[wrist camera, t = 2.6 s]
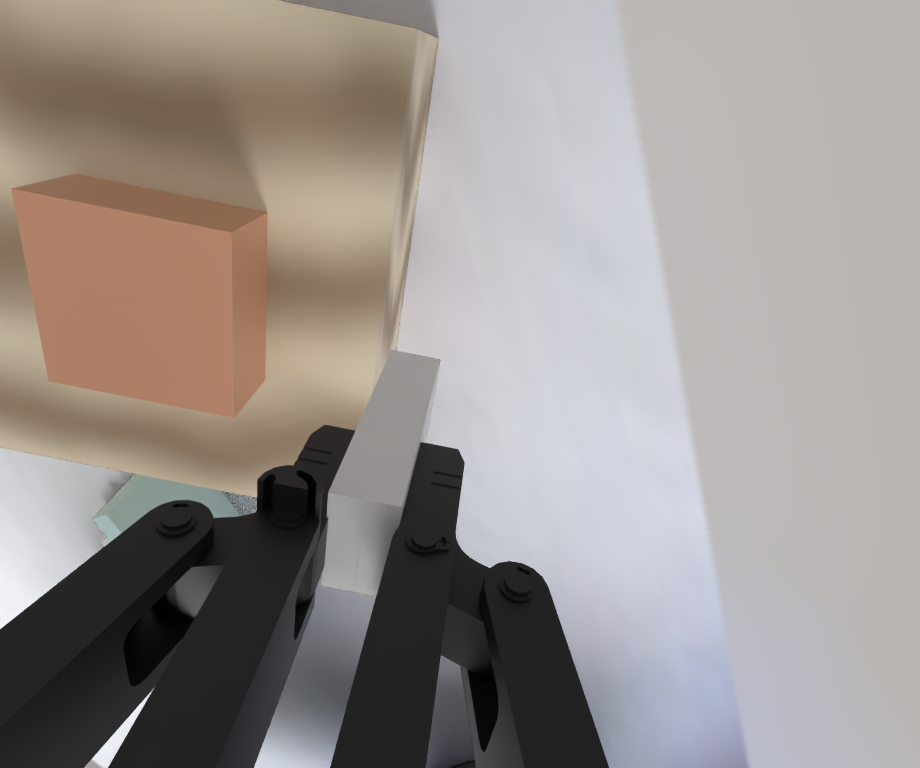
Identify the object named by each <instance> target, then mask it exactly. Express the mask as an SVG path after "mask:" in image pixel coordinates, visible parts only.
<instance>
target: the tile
mask: <svg viewBox="0 0 920 768" xmlns="http://www.w3.org/2000/svg"><path fill="white" fill-rule="evenodd" d="M11 191H12V196H13V201H14V206H15V211H16V217H17V222H18V227H19V232H20V237H21V242H22V247H23V252H24V258H25V263H26V268H27V273H28V278H29V283H30V288H31V293H32V298H33V304H34V309H35V314H36V319H37V324H38V329H39V334H40V339H41V345H42V350H43V355H44V360H45V365H46V370H47V375H48V380H49V382H54V383H59V384H64V385H69V386H75V387H80V388H85V389H90V390H95V391H100V392H105V393H110V394H115V395H120V396H125V397H130V398H136V399H141V400H146V401H151V402H156V403H161V404H166V405H171V406H176V407H181V408H186V409H191V410H197V411H202V412H207V413H212V414H217V415H222V416H227V417H232V418H235V417H236V415H237V414H238V413H239V412H240V411H241V409H242V408H243V407H244V406H245V404H246V403H247V402H248V401H249V400H250V398H251V397H252V396H253V395H254V393H255V392H256V391H257V390H258V389H259V387H260V386H261V385H262V384H263V382H264V381H265V361H266V290H267V219H268V212H264V211H259V210H254V209H249V208H244V207H239V206H234V205H229V204H224V203H219V202H214V201H209V200H204V199H199V198H194V197H189V196H184V195H179V194H174V193H169V192H164V191H159V190H154V189H149V188H144V187H139V186H134V185H129V184H124V183H119V182H114V181H109V180H104V179H99V178H94V177H89V176H84V175H79V174H72V175H68V176H64V177H59V178H55V179H51V180H46V181H42V182H37V183H33V184H29V185H24V186H20V187H16V188H11Z"/></svg>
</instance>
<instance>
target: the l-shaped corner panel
mask: <svg viewBox="0 0 920 768" xmlns="http://www.w3.org/2000/svg"><path fill="white" fill-rule="evenodd" d="M174 500H191V501H196V502H200V503H202V504H204V505H205V506H207V507H208V508H209V509H210V511H211V513H212V514H213V518H221V517H238V516H240V514H239V513H238V512H237V510H236V509H235V508H234V506H233V505H232V503H231V502H230V501H229V499H228V498H227V497H226V495H225V494H224V493H223V491H220V490H215V489H210V488H205V487H199V486H194V485H189V484H184V483H179V482H174V481H169V480H164V479H158V478H153V477H148V476H143V475H138V474H134V475H133V476H132V477H131V478H130V480H129V481H128V482H127V483H126V484H125V485H124V486H123V487H122V488H120V489H119V491H118V492H117V493H116V494H115V495H114V496H113V498H112V499H111V500H110V501H109V502H108V503H107V504H106V505H105V506H104V507H103V508H102V509H101V510H100V511H99V512H98V513H97V514H96V515H95V517H94V518H93V519H92V520H93V521H94V522H95V523H96V524H97V527H98V528H99V529H100V530H101V531H102V532H103V533H104V535H103V536H102V538H103V539H101V541H100V543H101V544H102V545H103V546H104V547H105V546H106V545H107V544H108V543H110V542H111V541H112V540H114V539H115V538H116V537H117V536H119V535H120V534H121V533H122V532H124V531H125V530H126V529H127V528H129V527H130V526H131V525H132V524H134V523H135V522H136V521H137V520H139V519H140V518H141V517H143V516H144V515H145V514H146V513H148V512H149V511H150V510H152V509H154V508H156V507H157V506H159V505H161V504H164V503H167V502H171V501H174ZM154 688H155V687H154ZM154 688H153V689H154ZM153 689H152V691H153ZM152 691H151V692H152Z"/></svg>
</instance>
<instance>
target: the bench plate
mask: <svg viewBox="0 0 920 768" xmlns="http://www.w3.org/2000/svg"><path fill="white" fill-rule="evenodd" d="M438 39H439V38H436V37H434V36H432V35H430V34H427V33H425V32H423V31H421V30H418V29H416V28H412V27H407V26H402V25H397V24H392V23H387V22H382V21H378V20H373V19H368V18H363V17H358V16H353V15H348V14H343V13H338V12H333V11H328V10H323V9H319V8H314V7H309V6H304V5H299V4H294V3H289V2H284V1H279V0H0V448H5V449H10V450H15V451H20V452H25V453H31V454H36V455H41V456H46V457H51V458H56V459H61V460H66V461H71V462H77V463H82V464H87V465H92V466H97V467H102V468H107V469H112V470H118V471H123V472H128V473H133V474H138V475H143V476H148V477H153V478H158V479H164V480H169V481H174V482H179V483H184V484H189V485H194V486H199V487H205V488H210V489H215V490H220V491H225V492H230V493H235V494H240V495H245V496H251V497H256V498H257V479H258V478H259V477H260V476H261V475H262V474H263V473H264V472H266V471H268V470H270V469H272V468H275V467H279V466H285V465H294V463H295V461H296V460H297V459H298V456H299V454H300V453H301V451H302V449H303V448H304V445H305V444H306V442H307V440H308V438H309V436H310V435H311V434H312V433H313V432H315V431H316V430H318V429H319V428H320V427H322V426H323V425H330V426H335V427H340V428H345V429H350V430H355V431H356V429H357V426H358V424H359V422H360V420H361V417H362V415H363V413H364V411H365V408H366V406H367V404H368V402H369V399H370V397H371V395H372V392H373V390H374V388H375V386H376V383H377V381H378V379H379V377H380V374H381V372H382V370H383V368H384V365H385V363H386V361H387V359H388V356H389V354H390V352H391V350H395V351H396V346H397V339H398V332H399V324H400V317H401V310H402V302H403V295H404V288H405V280H406V273H407V266H408V258H409V251H410V244H411V236H412V229H413V222H414V214H415V207H416V200H417V192H418V185H419V178H420V171H421V163H422V156H423V149H424V141H425V134H426V127H427V119H428V112H429V105H430V97H431V90H432V83H433V75H434V68H435V61H436V53H437V46H438ZM72 174H79V175H84V176H89V177H94V178H99V179H104V180H109V181H114V182H119V183H124V184H129V185H134V186H139V187H144V188H149V189H154V190H159V191H164V192H169V193H174V194H179V195H184V196H189V197H194V198H199V199H204V200H209V201H214V202H219V203H224V204H229V205H234V206H239V207H244V208H249V209H254V210H259V211H264V212H268V219H267V290H266V361H265V381H264V382H263V384H262V385H261V386H260V387H259V389H258V390H257V391H256V392H255V393H254V395H253V396H252V397H251V398H250V400H249V401H248V402H247V403H246V404H245V406H244V407H243V408H242V409H241V411H240V412H239V413H238V414H237V415H236V417H235V418H232V417H227V416H222V415H217V414H212V413H207V412H202V411H197V410H191V409H186V408H181V407H176V406H171V405H166V404H161V403H156V402H151V401H146V400H141V399H136V398H130V397H125V396H120V395H115V394H110V393H105V392H100V391H95V390H90V389H85V388H80V387H75V386H69V385H64V384H59V383H54V382H49V380H48V375H47V370H46V365H45V360H44V355H43V350H42V345H41V339H40V334H39V329H38V324H37V319H36V314H35V309H34V304H33V298H32V293H31V288H30V283H29V278H28V273H27V268H26V263H25V258H24V252H23V247H22V242H21V237H20V232H19V227H18V222H17V217H16V211H15V206H14V201H13V196H12V191H11V188H16V187H20V186H24V185H29V184H33V183H37V182H42V181H46V180H51V179H55V178H59V177H64V176H68V175H72Z"/></svg>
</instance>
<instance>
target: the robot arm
mask: <svg viewBox="0 0 920 768" xmlns="http://www.w3.org/2000/svg"><path fill="white" fill-rule="evenodd" d="M439 366H440V359H435V358H430V357H425V356H420V355H415V354H410V353H405V352H400V351H395V350H391V352H390V354H389V356H388V359H387V361H386V363H385V365H384V368H383V370H382V372H381V374H380V377H379V379H378V381H377V383H376V386H375V388H374V390H373V392H372V395H371V397H370V399H369V402H368V404H367V406H366V408H365V411H364V413H363V415H362V417H361V420H360V422H359V424H358V426H357V429H356V431H355V430H350V429H345V428H340V427H335V426H330V425H323V426H322V427H320V428H319V429H318V430H316V431H315V432H313V433H312V434H311V435H310V436H309V438H308V440H307V442H306V444H305V445H304V448H303V449H302V451H301V453H300V454H299V456H298V459H297V460H296V461H295V463H294V465H285V466H279V467H275V468H272V469H270V470H268V471H266V472H264V473H263V474H262V475H261V476H260V477H259V478H258V479H257V511H256V513H252V514H249V515H245V516H238V517H221V518H213V514H212V513H211V511H210V509H209V508H208V507H207V506H205V505H204V504H202V503H200V502H196V501H191V500H174V501H171V502H167V503H164V504H161V505H159V506H157V507H156V508H154V509H152V510H150V511H149V512H148V513H146V514H145V515H144V516H143V517H141V518H140V519H139V520H137V521H136V522H135V523H134V524H132V525H131V526H130V527H129V528H127V529H126V530H125V531H124V532H122V533H121V534H120V535H119V536H117V537H116V538H115V539H114V540H112V541H111V542H110V543H108V544H107V545H106V546H105V547H103V548H102V549H101V550H100V551H98V552H97V553H96V554H95V555H93V556H92V557H91V558H90V559H88V560H87V561H86V562H85V563H83V564H82V565H81V566H79V567H78V568H77V569H76V570H74V571H73V572H72V573H71V574H69V575H68V576H67V577H66V578H64V579H63V580H62V581H61V582H59V583H58V584H57V585H56V586H54V587H53V588H52V589H50V590H49V591H48V592H47V593H45V594H44V595H43V596H42V597H40V598H39V599H38V600H37V601H35V602H34V603H33V604H32V605H30V606H29V607H28V608H27V609H25V610H24V611H23V612H21V613H20V614H19V615H18V616H16V617H15V618H14V619H13V620H11V621H10V622H9V623H8V624H6V625H5V626H4V627H3V628H1V629H0V768H84V767H85V766H86V764H87V763H88V762H89V761H90V760H91V759H92V758H93V757H94V756H95V754H96V753H97V752H98V751H99V750H100V749H101V748H102V746H103V745H104V744H105V743H106V742H107V741H108V740H109V738H110V737H111V736H112V735H113V734H114V733H115V732H116V730H117V729H118V728H119V727H120V726H121V725H122V724H123V722H124V721H125V720H126V719H127V718H128V717H129V716H130V715H131V713H132V712H133V711H134V710H135V709H136V708H137V707H138V705H139V704H140V703H141V702H142V701H143V700H144V699H145V697H146V696H147V695H148V694H149V693H150V692H151V691H152V689H153V688H154V687H155V688H154V689H153V691H152V693H151V695H150V696H149V698H148V700H147V701H146V703H145V705H144V707H143V708H142V710H141V712H140V714H139V715H138V717H137V719H136V720H135V722H134V724H133V726H132V727H131V729H130V731H129V733H128V734H127V736H126V738H125V739H124V741H123V743H122V745H121V746H120V748H119V750H118V752H117V753H116V755H115V757H114V758H113V760H112V762H111V764H110V765H109V767H108V768H254V766H255V763H256V760H257V757H258V755H259V752H260V749H261V747H262V744H263V741H264V739H265V736H266V733H267V731H268V728H269V725H270V723H271V720H272V717H273V715H274V712H275V709H276V706H277V704H278V701H279V698H280V696H281V693H282V690H283V688H284V685H285V682H286V680H287V677H288V674H289V672H290V669H291V666H292V664H293V661H294V658H295V655H296V653H297V650H298V647H299V645H300V642H301V639H302V637H303V634H304V631H305V629H306V626H307V623H308V621H309V618H310V615H311V612H312V610H313V607H314V600H315V589H316V587H317V584H318V581H319V579H320V576H321V574H322V577H321V586H325V587H330V588H335V589H341V590H346V591H351V592H356V593H361V594H366V595H371V596H376V600H375V603H374V607H373V611H372V614H371V618H370V622H369V626H368V629H367V633H366V637H365V640H364V644H363V648H362V652H361V655H360V659H359V663H358V666H357V670H356V674H355V677H354V681H353V685H352V689H351V692H350V696H349V700H348V703H347V707H346V711H345V715H344V718H343V722H342V726H341V729H340V733H339V737H338V741H337V744H336V748H335V752H334V755H333V759H332V763H331V767H330V768H426V760H427V753H428V745H429V738H430V730H431V723H432V716H433V708H434V701H435V693H436V686H437V678H438V671H439V663H440V656H441V655H442V656H444V657H446V658H448V659H449V660H451V661H453V662H455V663H457V664H458V665H460V666H461V674H462V681H463V687H464V693H465V700H466V706H467V712H468V719H469V725H470V732H471V738H472V744H473V751H474V757H475V762H474V763H469V764H464V765H461V766H457V767H455V768H609V766H608V763H607V760H606V757H605V754H604V751H603V748H602V745H601V742H600V739H599V736H598V733H597V730H596V727H595V724H594V722H593V719H592V716H591V713H590V710H589V707H588V704H587V701H586V698H585V695H584V692H583V689H582V686H581V683H580V680H579V677H578V674H577V671H576V668H575V665H574V662H573V659H572V656H571V653H570V650H569V647H568V644H567V641H566V638H565V635H564V632H563V629H562V626H561V623H560V621H559V618H558V615H557V612H556V609H555V606H554V603H553V600H552V597H551V594H550V591H549V588H548V586H547V584H546V582H545V581H544V579H543V577H542V576H541V575H540V574H538V573H537V572H536V571H535V570H534V569H533V568H531V567H528V566H526V565H524V564H522V563H517V562H511V561H508V562H502V563H498V564H496V565H494V566H493V567H491V568H488V567H486V566H484V565H482V564H480V563H478V562H476V561H475V560H473V559H471V558H470V557H469V556H467V555H466V554H465V553H464V552H463V551H462V549H461V548H460V546H459V545H458V542H457V540H456V523H457V516H458V508H459V501H460V493H461V486H462V478H463V471H464V461H463V459H462V456H461V454H460V452H459V450H458V449H453V448H448V447H443V446H438V445H433V444H428V443H425V441H426V437H427V432H428V427H429V421H430V416H431V410H432V405H433V399H434V393H435V388H436V382H437V377H438V371H439Z"/></svg>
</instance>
